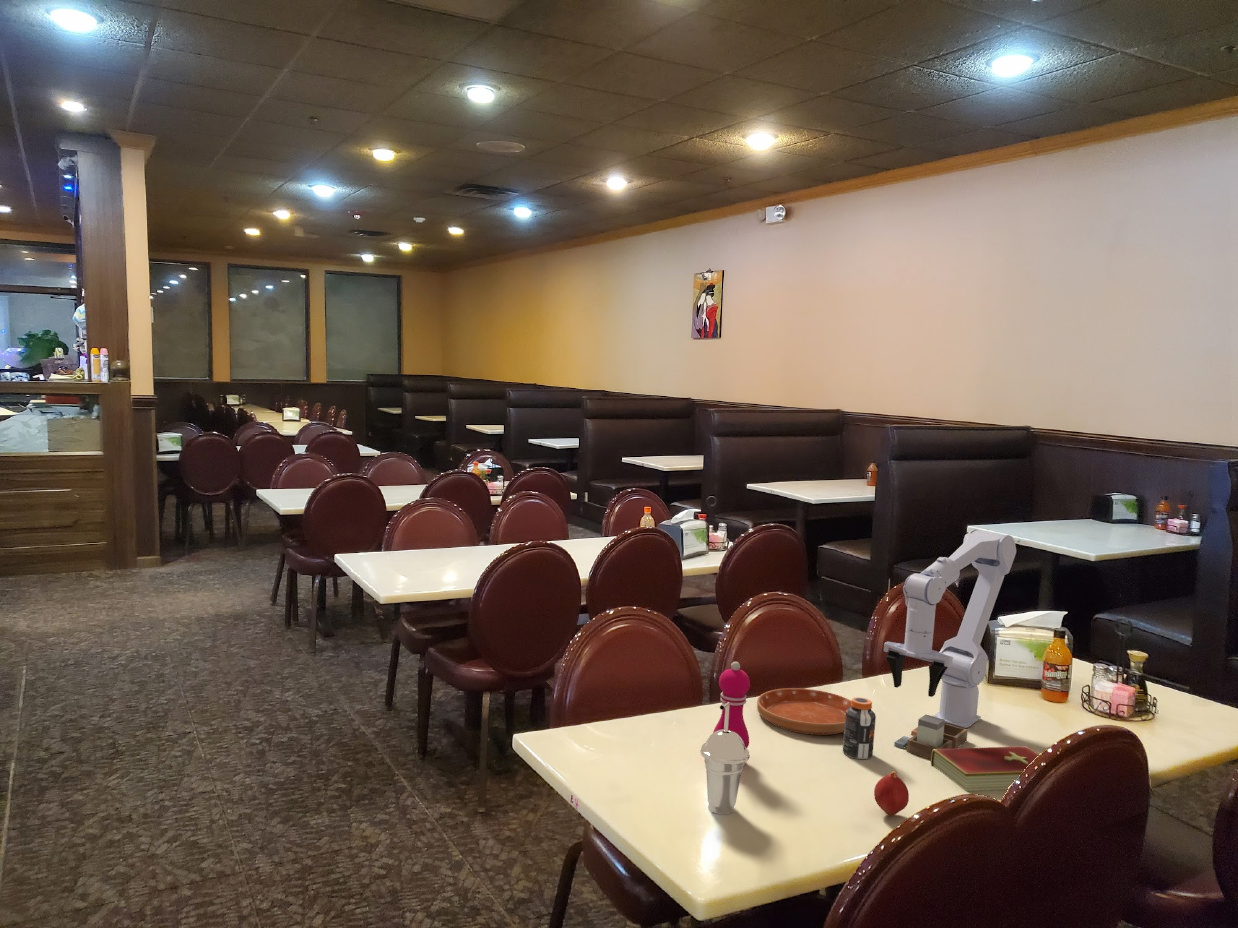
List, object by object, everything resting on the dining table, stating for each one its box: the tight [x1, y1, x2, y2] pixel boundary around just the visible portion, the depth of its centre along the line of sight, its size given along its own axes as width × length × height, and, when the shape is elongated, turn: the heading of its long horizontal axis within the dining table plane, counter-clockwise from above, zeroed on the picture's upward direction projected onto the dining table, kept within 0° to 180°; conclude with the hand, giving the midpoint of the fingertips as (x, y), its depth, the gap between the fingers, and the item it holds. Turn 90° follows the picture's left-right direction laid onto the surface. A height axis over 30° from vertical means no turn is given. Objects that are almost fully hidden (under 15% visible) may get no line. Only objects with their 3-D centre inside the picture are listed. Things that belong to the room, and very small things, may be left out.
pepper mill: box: [712, 661, 751, 765], centre depth 175 cm, size 7×7×20 cm
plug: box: [917, 714, 946, 748], centre depth 186 cm, size 4×4×7 cm
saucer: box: [756, 687, 852, 736], centre depth 201 cm, size 23×23×4 cm
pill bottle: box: [842, 696, 877, 760], centre depth 182 cm, size 6×6×11 cm
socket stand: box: [893, 722, 968, 760], centre depth 190 cm, size 16×10×2 cm, turn 140°
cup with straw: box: [699, 701, 751, 815], centre depth 155 cm, size 8×9×20 cm
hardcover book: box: [930, 745, 1040, 792], centre depth 176 cm, size 12×21×4 cm, turn 101°
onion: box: [873, 771, 910, 817], centre depth 156 cm, size 6×6×8 cm
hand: (914, 690), depth 195 cm, fingers open, 7 cm apart
